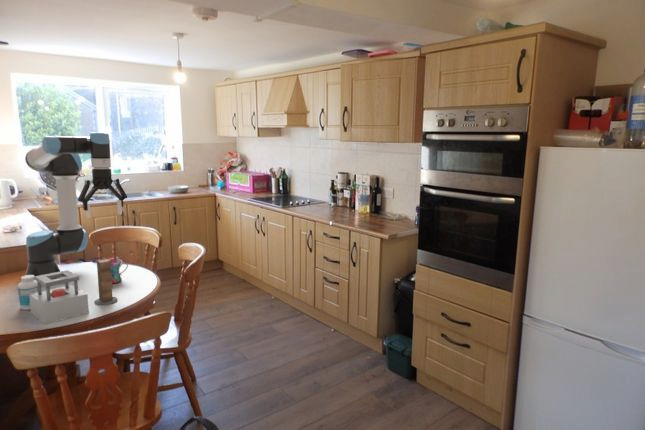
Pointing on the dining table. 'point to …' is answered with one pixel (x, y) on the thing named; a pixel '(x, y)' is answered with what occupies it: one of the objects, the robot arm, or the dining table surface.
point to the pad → (105, 302)
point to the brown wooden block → (104, 280)
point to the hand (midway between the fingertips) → (104, 216)
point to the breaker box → (58, 298)
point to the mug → (116, 270)
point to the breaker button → (58, 293)
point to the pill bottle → (26, 290)
